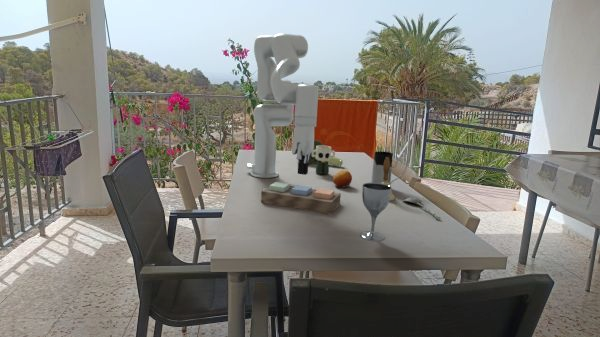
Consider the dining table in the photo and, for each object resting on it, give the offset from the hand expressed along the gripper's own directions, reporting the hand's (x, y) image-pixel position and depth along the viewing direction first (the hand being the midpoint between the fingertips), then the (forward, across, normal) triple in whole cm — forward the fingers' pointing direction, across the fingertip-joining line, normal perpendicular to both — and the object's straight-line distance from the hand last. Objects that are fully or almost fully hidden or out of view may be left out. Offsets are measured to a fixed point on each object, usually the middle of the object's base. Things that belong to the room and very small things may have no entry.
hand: (302, 173), depth 140 cm
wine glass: (+11, +19, +29) cm, 36 cm away
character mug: (+11, -48, -7) cm, 50 cm away
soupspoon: (+12, -15, +41) cm, 45 cm away
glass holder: (+11, -37, +25) cm, 46 cm away
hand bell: (+11, -23, +26) cm, 36 cm away
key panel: (+11, 0, 0) cm, 11 cm away
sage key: (+8, 0, -8) cm, 12 cm away
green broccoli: (+11, -70, -15) cm, 72 cm away
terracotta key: (+8, 0, +8) cm, 12 cm away
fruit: (+11, -31, +7) cm, 34 cm away
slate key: (+8, 0, 0) cm, 8 cm away
